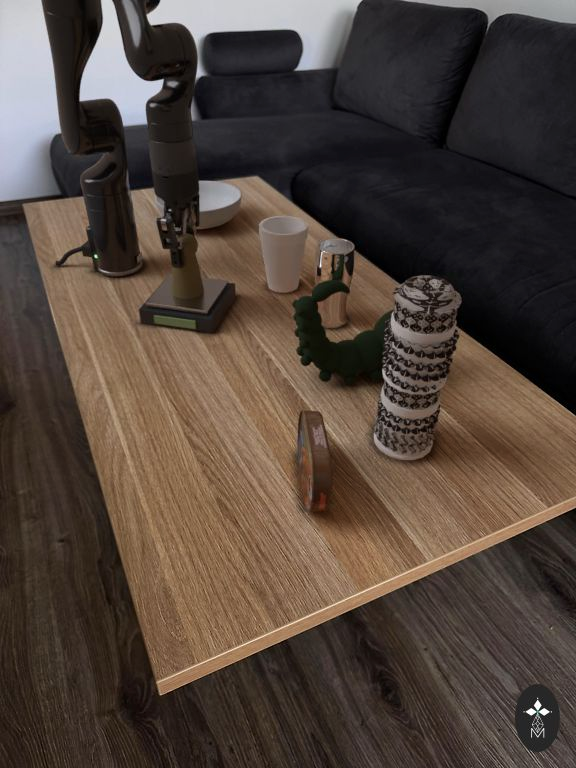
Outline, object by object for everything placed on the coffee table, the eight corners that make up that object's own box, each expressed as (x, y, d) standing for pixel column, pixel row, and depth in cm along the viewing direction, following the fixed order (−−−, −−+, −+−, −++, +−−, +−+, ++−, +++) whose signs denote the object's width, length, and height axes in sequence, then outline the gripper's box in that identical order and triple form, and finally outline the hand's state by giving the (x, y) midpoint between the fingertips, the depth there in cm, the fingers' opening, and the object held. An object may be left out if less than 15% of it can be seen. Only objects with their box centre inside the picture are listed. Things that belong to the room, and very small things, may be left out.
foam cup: (270, 300, 117) (269, 238, 109) (253, 279, 124) (251, 220, 116) (313, 290, 120) (315, 230, 112) (294, 271, 127) (295, 212, 119)
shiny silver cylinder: (346, 331, 108) (353, 256, 99) (309, 327, 109) (312, 252, 100) (351, 312, 113) (357, 239, 104) (315, 308, 115) (318, 235, 105)
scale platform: (145, 306, 108) (145, 302, 108) (171, 276, 118) (170, 273, 117) (207, 314, 106) (207, 311, 106) (228, 284, 115) (228, 280, 115)
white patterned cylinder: (399, 471, 80) (427, 312, 65) (358, 432, 86) (374, 278, 71) (448, 447, 84) (486, 291, 69) (405, 411, 90) (431, 261, 75)
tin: (295, 442, 85) (296, 397, 79) (317, 441, 85) (319, 396, 80) (307, 526, 73) (309, 479, 68) (332, 525, 73) (336, 477, 68)
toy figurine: (307, 406, 94) (456, 377, 96) (299, 303, 82) (469, 273, 84) (295, 371, 101) (434, 345, 104) (285, 272, 89) (443, 245, 92)
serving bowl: (172, 204, 157) (169, 178, 153) (249, 209, 155) (248, 182, 151) (146, 236, 141) (142, 207, 137) (232, 241, 139) (231, 213, 134)
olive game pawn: (210, 287, 113) (205, 232, 106) (193, 301, 108) (187, 245, 102) (183, 280, 115) (177, 226, 108) (165, 294, 110) (158, 239, 104)
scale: (140, 324, 109) (137, 310, 108) (170, 288, 121) (168, 274, 119) (211, 334, 107) (210, 320, 105) (235, 296, 118) (235, 283, 116)
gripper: (170, 151, 103) (180, 242, 114) (134, 177, 92) (148, 275, 103) (210, 154, 102) (217, 246, 112) (179, 181, 91) (189, 280, 101)
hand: (184, 259), depth 107 cm, fingers closed on olive game pawn, 5 cm apart
